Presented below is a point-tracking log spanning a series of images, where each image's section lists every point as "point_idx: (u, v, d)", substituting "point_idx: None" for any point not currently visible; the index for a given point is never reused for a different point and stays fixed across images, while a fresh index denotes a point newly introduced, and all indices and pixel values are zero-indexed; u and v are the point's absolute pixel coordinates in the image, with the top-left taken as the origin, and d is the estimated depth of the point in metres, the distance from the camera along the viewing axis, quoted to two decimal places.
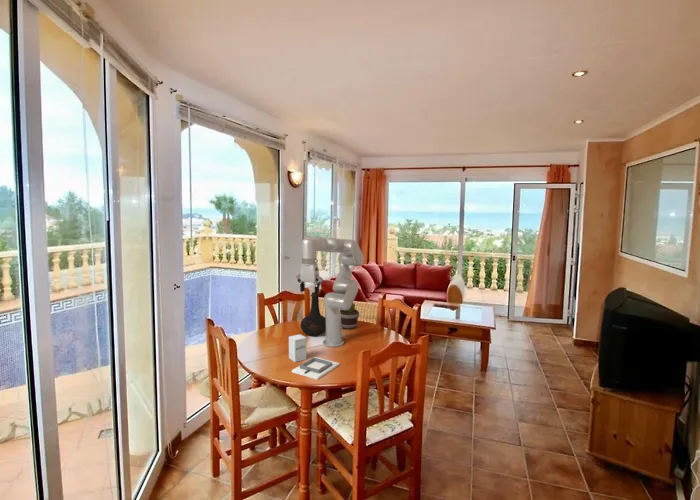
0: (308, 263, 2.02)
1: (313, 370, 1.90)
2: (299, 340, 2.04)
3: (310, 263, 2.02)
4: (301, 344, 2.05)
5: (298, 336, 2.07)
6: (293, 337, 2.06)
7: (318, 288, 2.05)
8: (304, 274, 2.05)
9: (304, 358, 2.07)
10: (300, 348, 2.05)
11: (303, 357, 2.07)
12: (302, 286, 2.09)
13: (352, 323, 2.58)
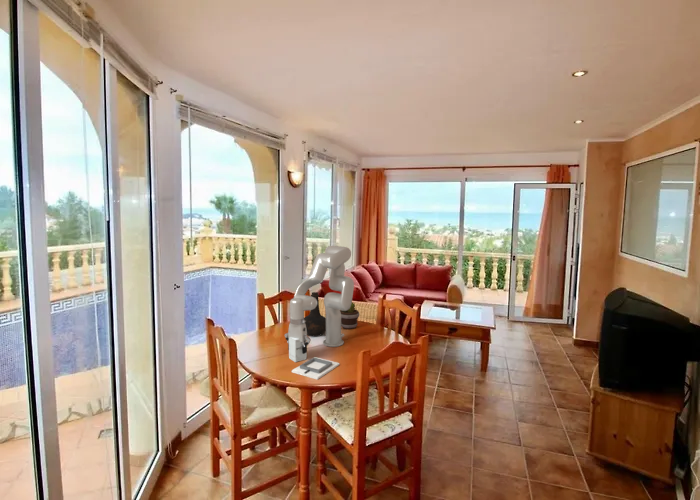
0: (296, 324, 2.03)
1: (313, 370, 1.90)
2: None
3: (298, 324, 2.03)
4: (301, 344, 2.05)
5: None
6: None
7: (306, 348, 2.05)
8: (292, 334, 2.06)
9: (304, 358, 2.07)
10: (300, 348, 2.05)
11: (303, 357, 2.07)
12: None
13: (352, 323, 2.58)
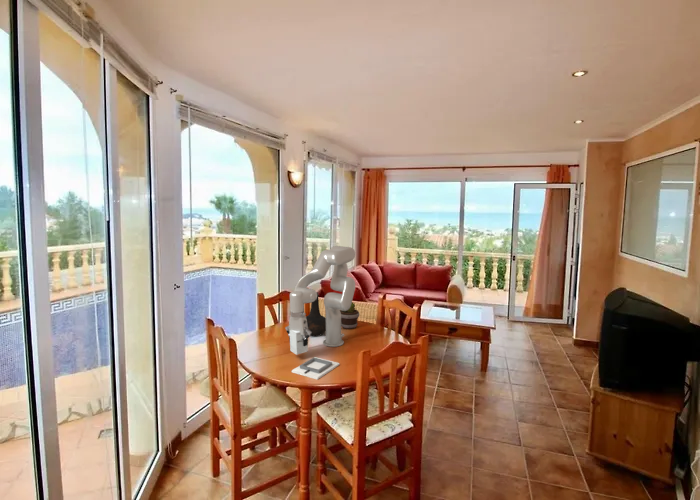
0: (296, 317, 2.02)
1: (313, 370, 1.90)
2: None
3: (298, 316, 2.03)
4: (302, 337, 2.05)
5: None
6: None
7: (307, 340, 2.05)
8: (293, 327, 2.06)
9: (306, 350, 2.08)
10: (301, 341, 2.05)
11: (305, 350, 2.07)
12: None
13: (352, 323, 2.58)
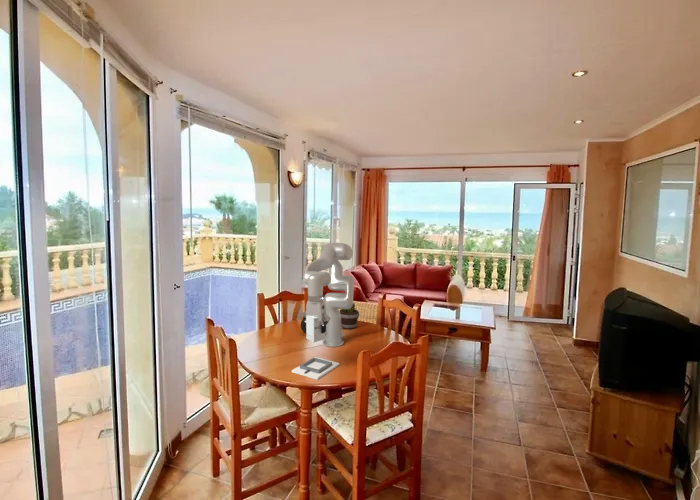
0: (314, 301, 1.89)
1: (313, 370, 1.90)
2: None
3: (316, 301, 1.89)
4: (320, 323, 1.91)
5: None
6: (311, 316, 1.92)
7: (325, 327, 1.91)
8: (310, 312, 1.92)
9: (323, 338, 1.93)
10: (319, 327, 1.91)
11: (322, 337, 1.93)
12: None
13: (352, 323, 2.58)
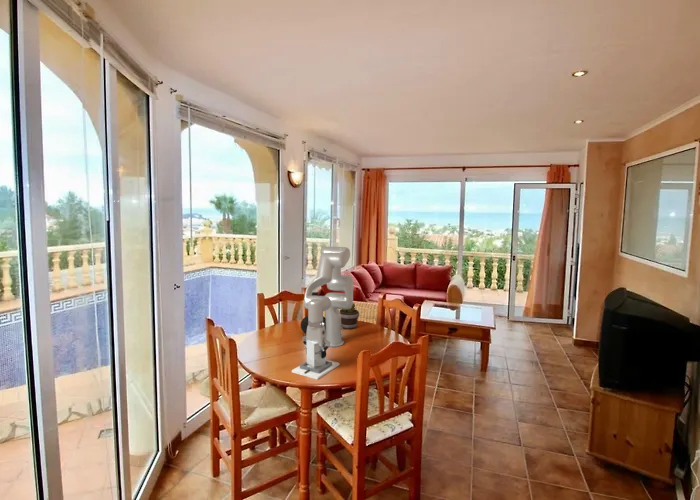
0: (315, 326, 1.90)
1: (313, 370, 1.90)
2: None
3: (317, 326, 1.90)
4: (320, 348, 1.92)
5: None
6: (311, 341, 1.94)
7: (325, 352, 1.93)
8: (310, 337, 1.93)
9: (323, 363, 1.95)
10: (319, 352, 1.92)
11: (322, 362, 1.94)
12: None
13: (352, 323, 2.58)
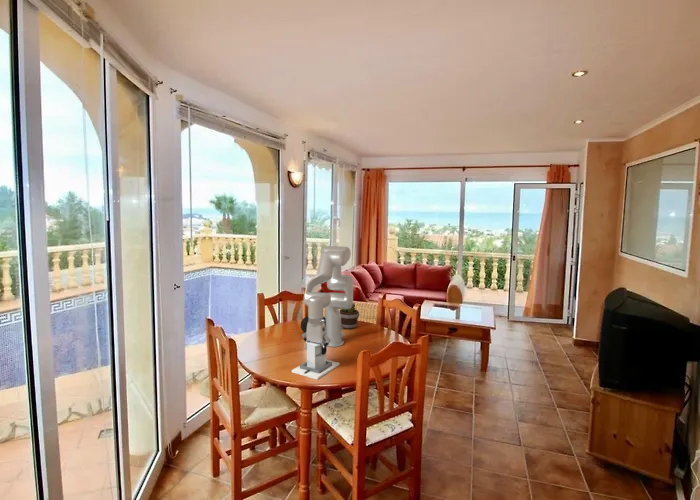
0: (315, 323, 1.90)
1: (313, 370, 1.90)
2: (319, 346, 1.92)
3: (317, 323, 1.90)
4: (321, 350, 1.93)
5: None
6: (312, 343, 1.94)
7: (325, 349, 1.93)
8: (310, 334, 1.93)
9: (324, 365, 1.95)
10: (320, 355, 1.93)
11: (323, 364, 1.95)
12: None
13: (352, 323, 2.58)
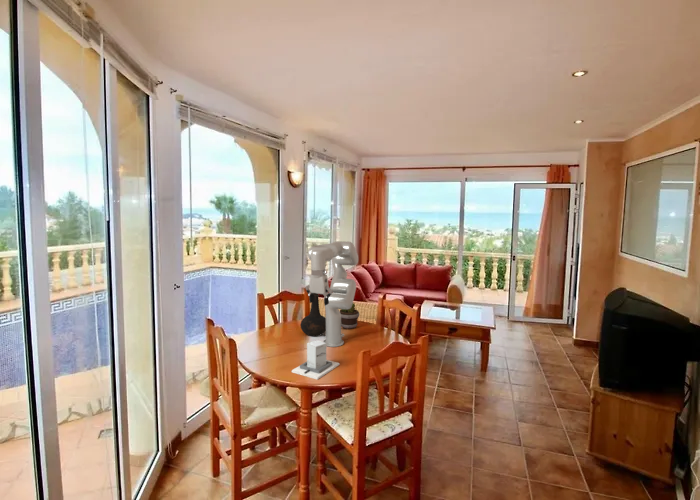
0: (317, 275, 2.00)
1: (313, 370, 1.90)
2: (319, 346, 1.92)
3: (319, 275, 2.00)
4: (321, 350, 1.93)
5: (318, 343, 1.95)
6: (312, 343, 1.94)
7: (328, 299, 2.03)
8: (313, 285, 2.03)
9: (324, 365, 1.96)
10: (320, 355, 1.93)
11: (323, 364, 1.95)
12: (311, 297, 2.07)
13: (352, 323, 2.58)
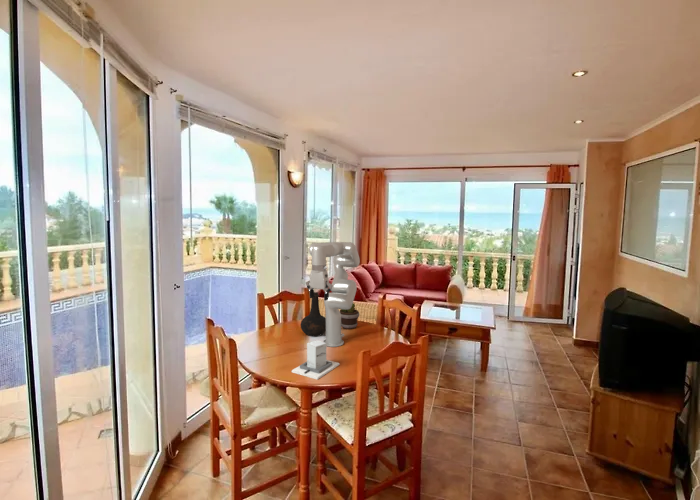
0: (318, 270, 2.02)
1: (313, 370, 1.90)
2: (319, 346, 1.92)
3: (320, 270, 2.02)
4: (321, 350, 1.93)
5: (318, 343, 1.95)
6: (312, 343, 1.94)
7: (328, 295, 2.04)
8: (314, 281, 2.05)
9: (324, 365, 1.96)
10: (320, 355, 1.93)
11: (323, 364, 1.95)
12: (311, 292, 2.09)
13: (352, 323, 2.58)
